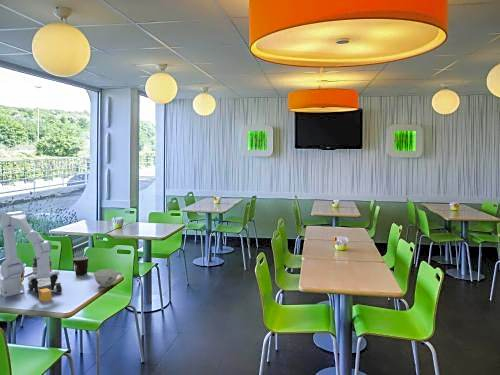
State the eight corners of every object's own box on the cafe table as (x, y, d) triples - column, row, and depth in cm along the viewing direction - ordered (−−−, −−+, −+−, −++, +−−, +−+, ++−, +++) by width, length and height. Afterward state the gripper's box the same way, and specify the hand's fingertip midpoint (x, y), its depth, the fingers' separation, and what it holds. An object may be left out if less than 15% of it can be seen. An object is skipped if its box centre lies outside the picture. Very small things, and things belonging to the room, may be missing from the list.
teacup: (95, 290, 232) (94, 276, 231) (93, 284, 243) (92, 270, 242) (124, 286, 238) (123, 272, 238) (120, 280, 249) (120, 267, 249)
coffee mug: (73, 273, 266) (73, 257, 265) (88, 271, 269) (87, 256, 269) (74, 278, 255) (73, 261, 254) (89, 276, 259) (88, 260, 258)
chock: (43, 302, 214) (42, 292, 214) (39, 299, 219) (38, 289, 218) (51, 300, 217) (51, 290, 217) (47, 297, 222) (46, 288, 221)
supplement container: (53, 273, 266) (52, 254, 265) (50, 278, 256) (49, 258, 255) (35, 275, 264) (34, 255, 263) (31, 279, 253) (30, 259, 252)
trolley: (40, 298, 220) (40, 287, 220) (27, 289, 235) (27, 279, 234) (62, 293, 228) (61, 283, 228) (48, 285, 242) (48, 275, 242)
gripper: (30, 269, 209) (31, 296, 210) (61, 264, 219) (62, 290, 220) (26, 266, 214) (27, 293, 215) (56, 261, 224) (57, 287, 225)
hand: (44, 291), depth 218 cm, fingers open, 7 cm apart
